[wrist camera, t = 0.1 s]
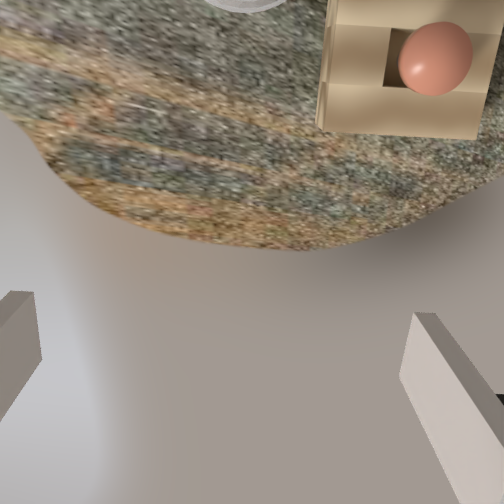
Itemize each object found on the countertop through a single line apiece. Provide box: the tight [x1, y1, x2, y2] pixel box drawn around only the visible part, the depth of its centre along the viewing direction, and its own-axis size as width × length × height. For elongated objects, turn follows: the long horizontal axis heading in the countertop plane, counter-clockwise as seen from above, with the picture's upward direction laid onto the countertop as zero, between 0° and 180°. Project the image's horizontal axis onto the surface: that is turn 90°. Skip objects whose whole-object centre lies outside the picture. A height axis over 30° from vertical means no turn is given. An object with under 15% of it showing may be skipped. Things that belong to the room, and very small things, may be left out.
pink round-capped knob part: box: [397, 22, 473, 96], centre depth 32 cm, size 4×4×5 cm
